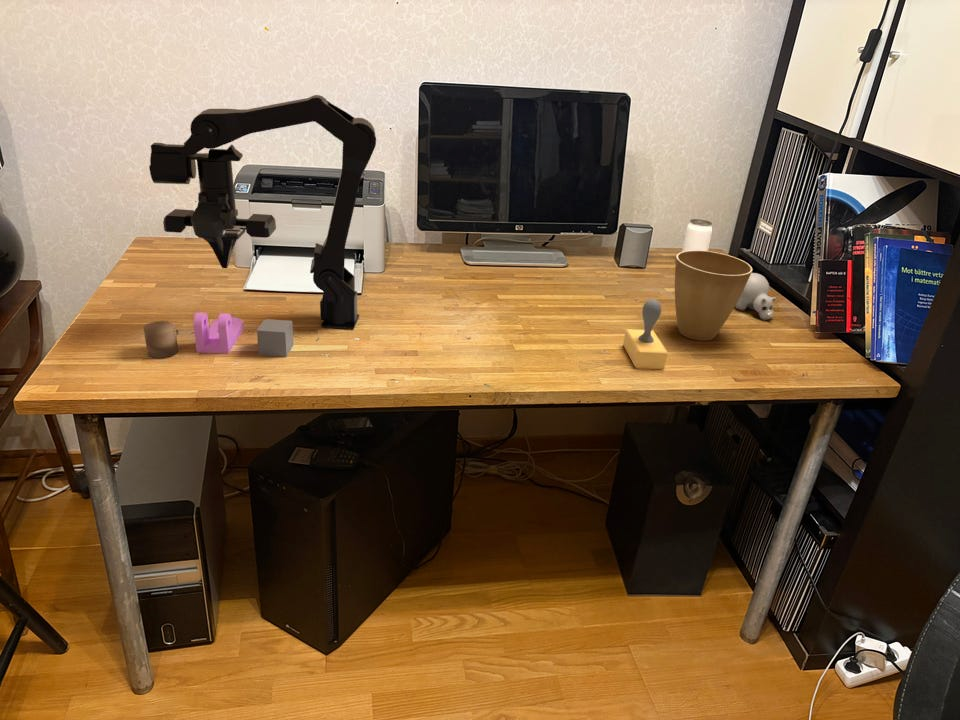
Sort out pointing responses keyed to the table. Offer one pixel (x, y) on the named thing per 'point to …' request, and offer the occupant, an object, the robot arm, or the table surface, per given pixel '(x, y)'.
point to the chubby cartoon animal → (757, 296)
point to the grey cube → (275, 338)
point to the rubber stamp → (646, 340)
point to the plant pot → (707, 291)
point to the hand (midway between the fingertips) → (225, 267)
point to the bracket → (216, 333)
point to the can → (697, 235)
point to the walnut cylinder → (161, 339)
